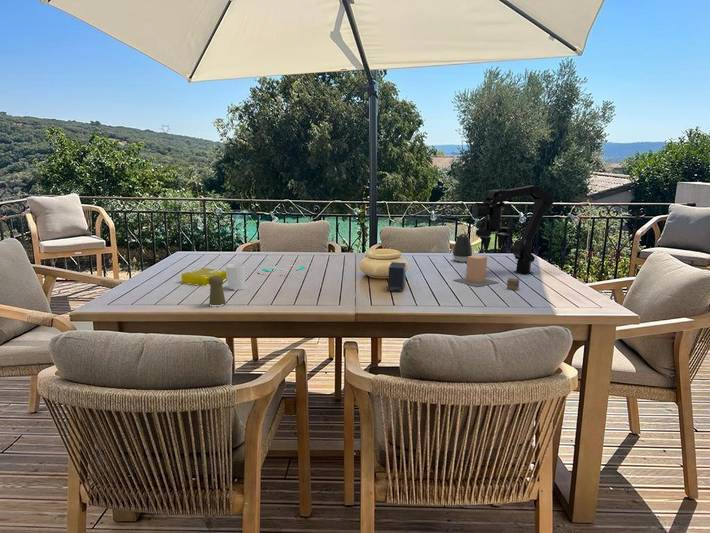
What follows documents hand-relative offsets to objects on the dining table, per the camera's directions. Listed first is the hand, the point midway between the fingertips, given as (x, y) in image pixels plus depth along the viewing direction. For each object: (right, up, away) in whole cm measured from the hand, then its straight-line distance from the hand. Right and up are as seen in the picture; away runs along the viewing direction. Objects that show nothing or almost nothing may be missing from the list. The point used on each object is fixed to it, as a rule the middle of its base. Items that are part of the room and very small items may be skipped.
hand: (492, 249), depth 220 cm
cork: (-117, -22, -46) cm, 127 cm away
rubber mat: (-11, -15, -11) cm, 22 cm away
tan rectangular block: (-11, -14, -12) cm, 21 cm away
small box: (-47, -18, -23) cm, 56 cm away
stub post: (+2, -17, -23) cm, 29 cm away
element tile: (-133, -15, -9) cm, 135 cm away
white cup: (-115, -17, -23) cm, 119 cm away
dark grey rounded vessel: (-7, -5, +33) cm, 34 cm away
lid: (-101, -10, +13) cm, 102 cm away
